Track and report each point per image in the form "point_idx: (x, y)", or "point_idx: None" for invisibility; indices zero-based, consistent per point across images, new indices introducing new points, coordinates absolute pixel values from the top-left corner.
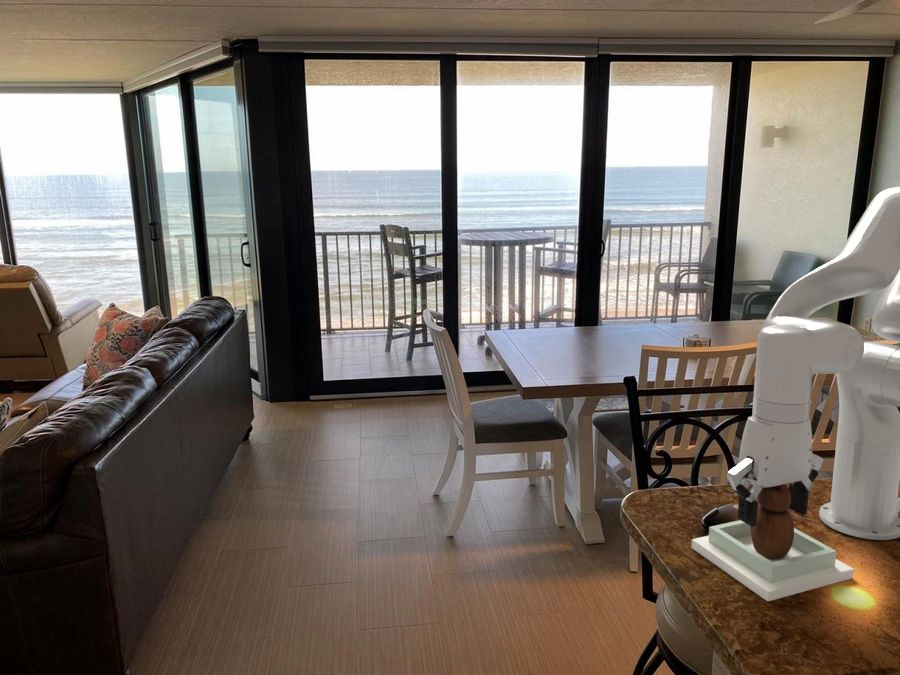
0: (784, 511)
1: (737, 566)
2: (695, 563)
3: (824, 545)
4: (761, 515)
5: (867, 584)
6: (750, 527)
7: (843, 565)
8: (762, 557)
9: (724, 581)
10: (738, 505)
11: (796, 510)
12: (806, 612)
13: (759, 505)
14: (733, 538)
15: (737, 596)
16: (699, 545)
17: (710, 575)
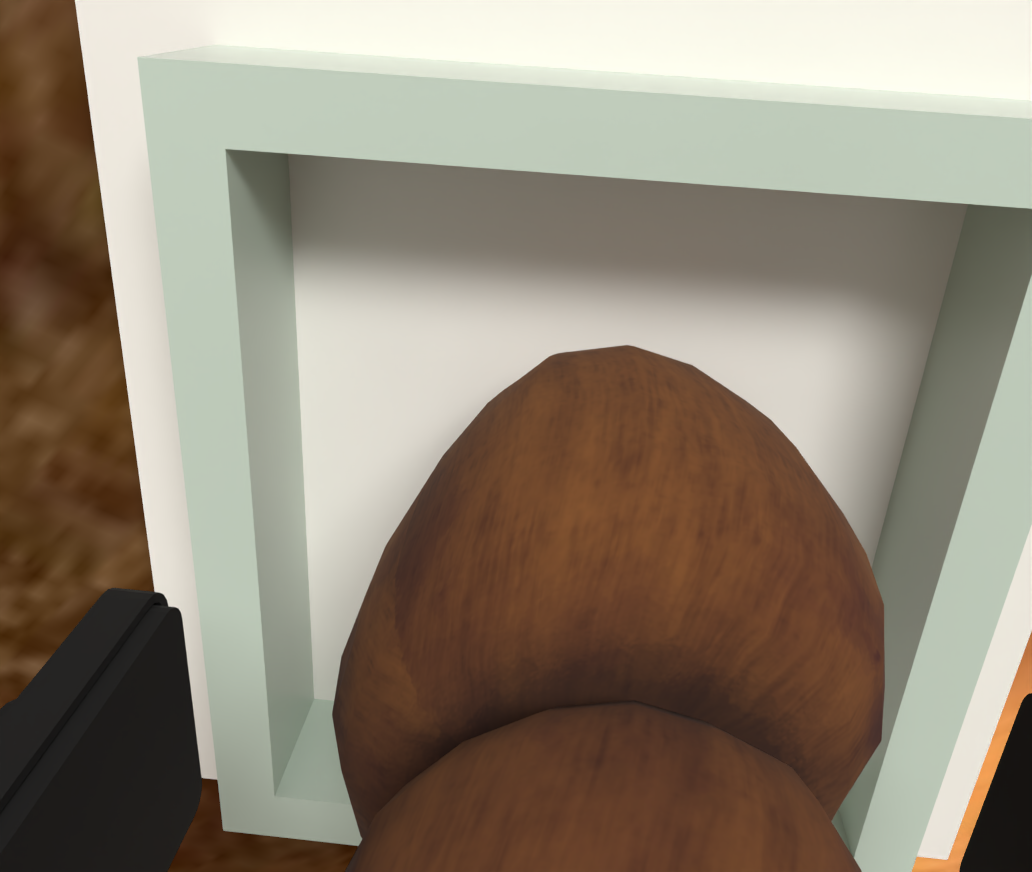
0: None
1: (185, 500)
2: (4, 180)
3: (909, 830)
4: (362, 779)
5: (926, 865)
6: (464, 438)
7: (932, 812)
8: (250, 725)
9: (84, 471)
10: (12, 708)
11: (989, 824)
12: (339, 857)
13: (529, 653)
14: (232, 398)
15: (64, 619)
16: (88, 56)
17: (29, 372)
